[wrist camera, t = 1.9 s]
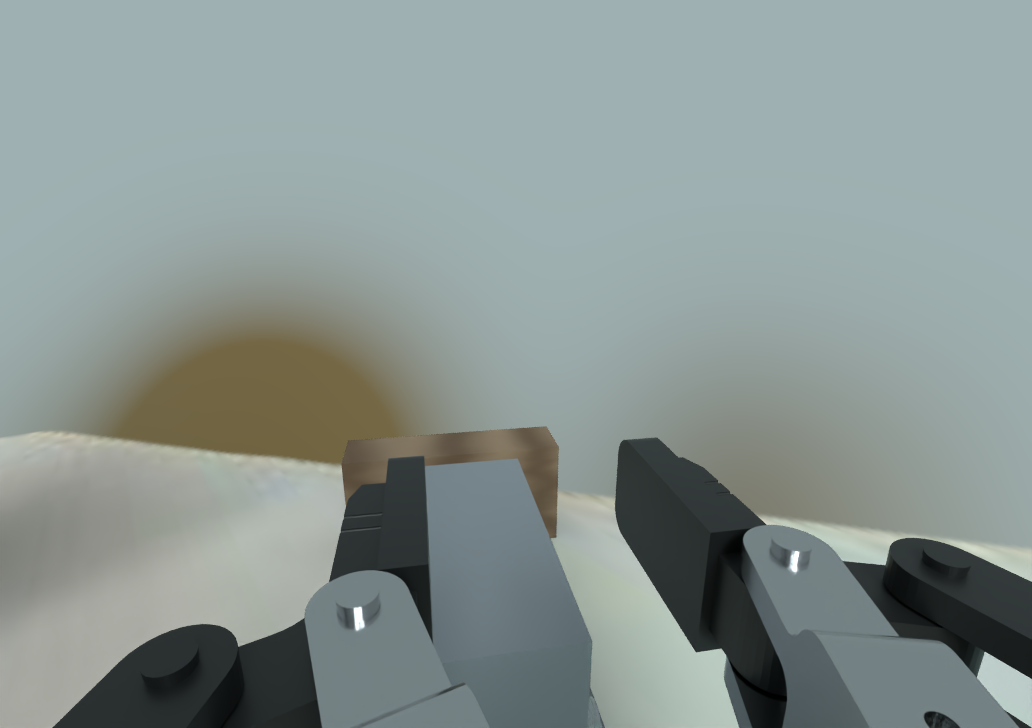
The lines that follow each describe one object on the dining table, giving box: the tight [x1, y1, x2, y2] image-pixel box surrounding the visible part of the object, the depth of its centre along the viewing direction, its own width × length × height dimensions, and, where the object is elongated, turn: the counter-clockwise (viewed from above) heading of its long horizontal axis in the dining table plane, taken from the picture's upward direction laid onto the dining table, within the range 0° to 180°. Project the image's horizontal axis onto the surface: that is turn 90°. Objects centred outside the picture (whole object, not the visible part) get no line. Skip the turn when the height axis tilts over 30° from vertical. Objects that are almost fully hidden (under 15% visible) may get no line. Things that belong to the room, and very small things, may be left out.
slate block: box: [425, 459, 592, 728], centre depth 26 cm, size 14×6×9 cm, turn 10°
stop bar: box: [342, 427, 559, 538], centre depth 42 cm, size 16×4×8 cm, turn 100°
